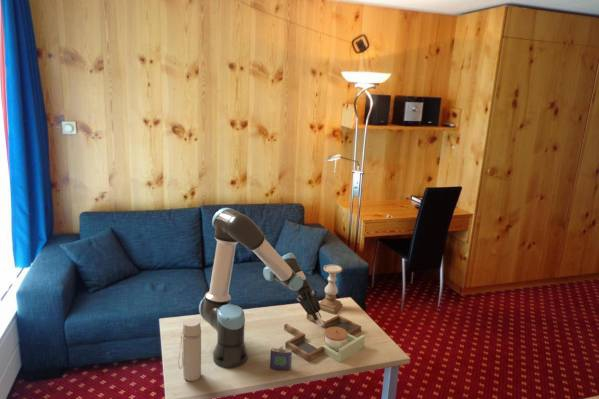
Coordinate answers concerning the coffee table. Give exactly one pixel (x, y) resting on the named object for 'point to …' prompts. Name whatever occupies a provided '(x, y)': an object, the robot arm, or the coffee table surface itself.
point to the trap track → (312, 352)
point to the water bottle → (191, 349)
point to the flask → (280, 359)
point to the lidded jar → (335, 337)
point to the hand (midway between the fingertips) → (321, 325)
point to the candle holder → (331, 291)
